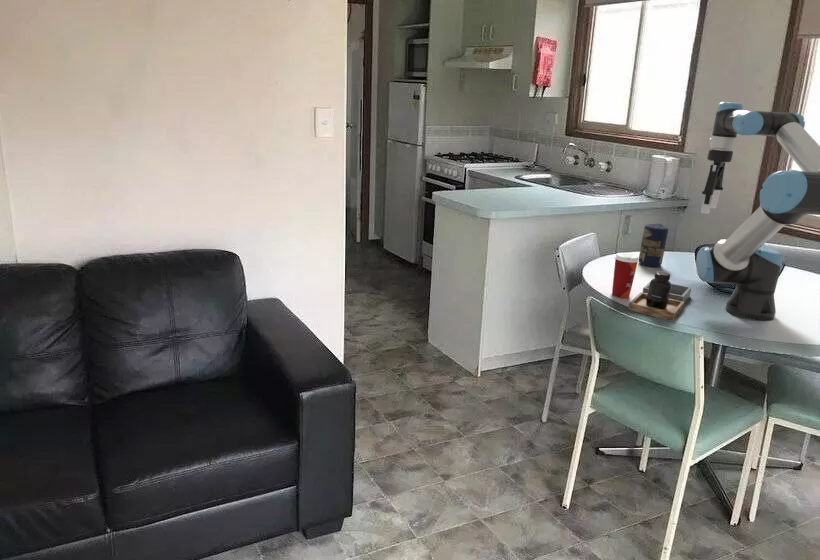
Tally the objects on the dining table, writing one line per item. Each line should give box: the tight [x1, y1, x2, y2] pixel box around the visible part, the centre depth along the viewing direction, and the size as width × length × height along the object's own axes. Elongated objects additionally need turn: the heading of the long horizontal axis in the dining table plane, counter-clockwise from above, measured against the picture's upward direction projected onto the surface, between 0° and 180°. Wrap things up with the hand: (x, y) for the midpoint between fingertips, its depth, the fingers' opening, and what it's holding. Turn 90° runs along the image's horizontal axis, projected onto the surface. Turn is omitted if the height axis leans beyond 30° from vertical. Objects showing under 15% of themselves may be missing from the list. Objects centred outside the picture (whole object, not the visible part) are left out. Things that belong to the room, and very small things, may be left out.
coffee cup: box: [611, 252, 639, 299], centre depth 226 cm, size 8×8×15 cm
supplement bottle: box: [646, 270, 672, 310], centre depth 214 cm, size 7×7×12 cm
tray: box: [627, 291, 685, 321], centre depth 216 cm, size 15×15×2 cm
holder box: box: [642, 282, 692, 304], centre depth 229 cm, size 14×14×4 cm
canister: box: [638, 223, 669, 268], centre depth 267 cm, size 10×10×18 cm
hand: (708, 210), depth 222 cm, fingers open, 13 cm apart
